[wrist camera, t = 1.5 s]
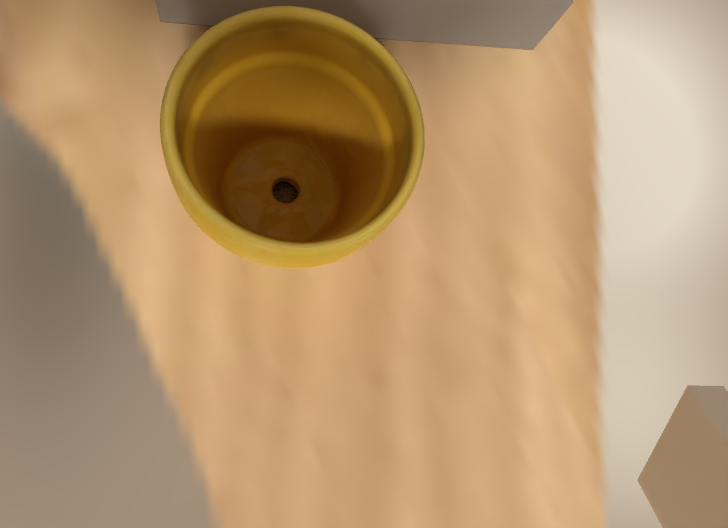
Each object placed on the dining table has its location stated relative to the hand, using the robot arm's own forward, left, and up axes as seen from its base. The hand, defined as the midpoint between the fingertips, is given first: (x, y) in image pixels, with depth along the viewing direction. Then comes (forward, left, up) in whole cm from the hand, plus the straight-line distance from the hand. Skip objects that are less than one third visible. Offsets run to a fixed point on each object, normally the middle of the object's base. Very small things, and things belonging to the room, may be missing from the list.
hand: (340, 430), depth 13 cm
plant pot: (-3, +10, -22) cm, 25 cm away
